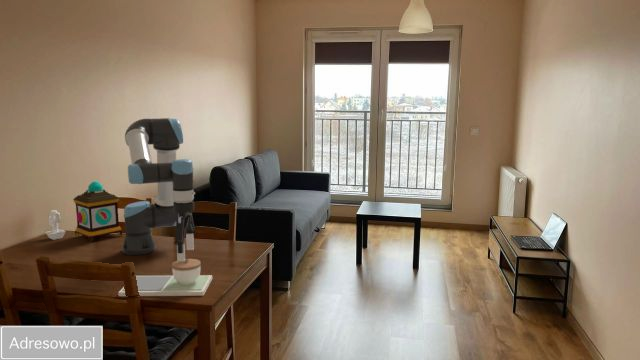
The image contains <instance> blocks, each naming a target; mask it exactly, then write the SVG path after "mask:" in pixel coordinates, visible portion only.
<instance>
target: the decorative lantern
mask: <svg viewBox="0 0 640 360" xmlns="http://www.w3.org/2000/svg"><path fill="white" fill-rule="evenodd" d="M85 190H86V191H85V192H83V193H81V194H79V195H76V196H75V197H74V198H73V199H72V200H73V203H74V204H75V212H76V228H75V230H74V234H75V237H76V238H79V237H80V235H82V236H84V237H87V238H88V241H89V243H93V239H94V238H95V237H100V236H104V235H109V234H114V233H118V237H122V236H123V230H122V228H121V226H120V222H119V209H118V207H119V206H118V204H119V201H120V198H119V197H118V196H117V195H115V194H112V193H109V192H108V191H106V189H104V186H103V185H102V183H100V182H99V181H95V180H94V181H91V182H90V184H89V185H88V187H87V189H85Z"/></svg>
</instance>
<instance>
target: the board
mask: <svg viewBox="0 0 640 360" xmlns="http://www.w3.org/2000/svg"><path fill="white" fill-rule="evenodd" d="M135 276H136V280H137V286H138V292H139V295H140V296H139V297H177V296H179V297H181V296H182V297H184V296H185V297H186V296H190V297H192V296H195V297H196V296H205V293H206V291H207V290H208V288H209V286H210V285H211V282H212V280H213V274H212V275H210V274H206V275H201V274H200V275H199V277H198V279H197V280H196V281H195V283H193V284H191V285H180V284H179V283H178V282H177V281H176V280H175V278H174V276H173V275H135ZM118 297H127V296H126V295H125V289H124V286H123V287H122V288H121V289H120V290H119V291H118Z"/></svg>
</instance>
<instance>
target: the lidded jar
mask: <svg viewBox="0 0 640 360" xmlns="http://www.w3.org/2000/svg"><path fill="white" fill-rule="evenodd" d="M201 262H202V261H201V260H199V259H194V258H185V261H177V260H176V261H173V262H172V263H171V269H172V276H174V278H175V280H176V281H177V282H178V283H179V284H180V285H191V284H193V283H195V281H196V280H197V279H198V277H199V275H201V268H202V267H201V264H202V263H201Z"/></svg>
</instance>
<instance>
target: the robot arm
mask: <svg viewBox="0 0 640 360" xmlns="http://www.w3.org/2000/svg"><path fill="white" fill-rule="evenodd" d="M182 129H183V128H182V125H181V122H180V120H179V119H177V118H169V117H168V118H166V117H165V118H163V117H161V118H141V119H138V120H136V121H134V122H133V123H131V124H130V125H129V126H128V127H127V129H126V130H125V133H124V140H125V144H126V145H127V146H128V149H129V155H130V160H131V164H129V165H128V166H127V177H128V183H129V184H131V185H142V184H144V185H145V184H157V197H156V198H155V199H154V203H150V201H149V200H145V201H143V200H141V201H136V202H132V203H128V204H127V205H126V206H125V207H124V211H123V213H124V214H123V217H124V231H125V233H124V234H125V237H124V240H123V244H122V247H121V249H122V251H121V252H122V253H123V254H124V255H127V256H128V255H131V256H140V255H146V254H150V253H152V252H155V251H156V250H157V243H156V241H155V239H154V237H153V234H152V229H156V228H166V227H167V228H168V227H175V235H174V236H175V237H174V242H173V244H174V246H175V245H176V258H177V260H176V261H185V259H186V251H194V249H195V244H194V243H195V242H194V234H196V230H195V223H194V217H193V211H194V210H195V201H194V199H195V196H194V195H196V192H195V191H194V166H193V161H192V160H191V159H186V158H184V159H182V158H181V159H177V151H178V150H179V149H180V146H181V145H182V144H184V135H183V130H182ZM149 145H152V147H153V149H154V150H155V151H156V162H154V163H153V160H152V155H151V151H150V148H149ZM185 244H186V245H185Z"/></svg>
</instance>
